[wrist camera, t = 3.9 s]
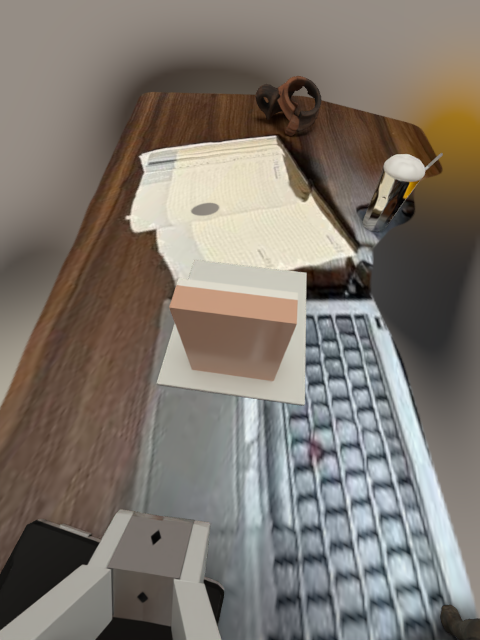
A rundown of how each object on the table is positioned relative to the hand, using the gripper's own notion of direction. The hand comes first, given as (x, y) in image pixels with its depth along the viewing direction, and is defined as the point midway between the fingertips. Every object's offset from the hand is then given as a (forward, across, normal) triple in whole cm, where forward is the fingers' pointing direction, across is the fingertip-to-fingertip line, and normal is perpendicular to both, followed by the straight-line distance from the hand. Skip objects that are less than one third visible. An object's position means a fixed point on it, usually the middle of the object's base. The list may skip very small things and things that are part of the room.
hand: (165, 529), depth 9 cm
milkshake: (+35, -18, -14) cm, 42 cm away
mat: (+22, -1, -1) cm, 22 cm away
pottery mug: (+55, -4, -34) cm, 65 cm away
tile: (+18, -1, +2) cm, 18 cm away
